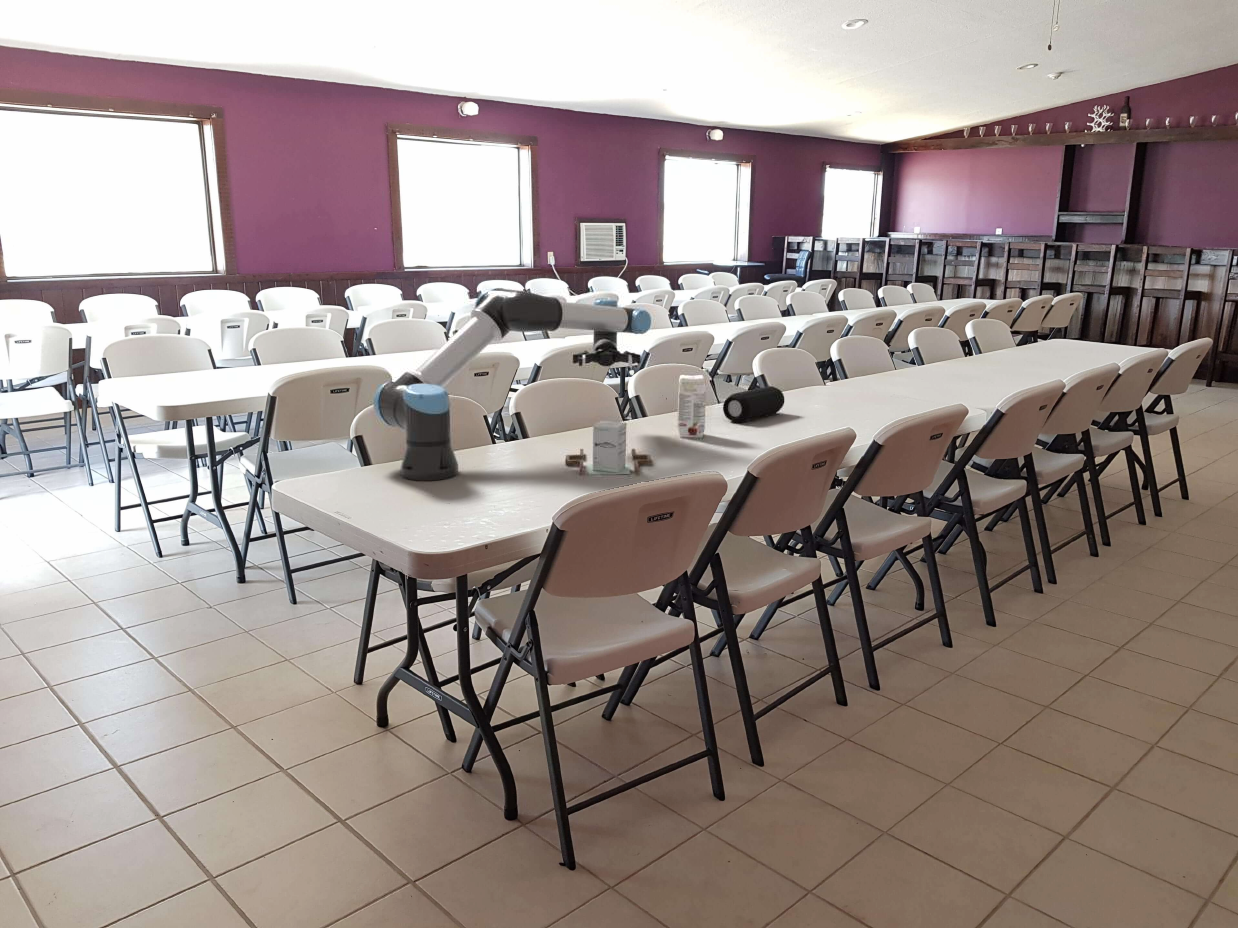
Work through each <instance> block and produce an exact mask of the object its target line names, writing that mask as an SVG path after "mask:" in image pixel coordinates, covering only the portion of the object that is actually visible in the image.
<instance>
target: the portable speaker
mask: <svg viewBox="0 0 1238 928" xmlns="http://www.w3.org/2000/svg"><path fill="white" fill-rule="evenodd" d="M784 404H785V396H784V393H783V391H782V390H781V389H779V388H777V387H775V386H772V385H771V386H770V385H768V386H763V387H758V388H753V389H749V390H745V391H744V390H743V391H740V392H734V393H731V394H730V395H728V397H727V398H726V399H725V400H724V402H723V405H722V412H723V414H724V416H725V417H726V418H727V419H728V420H729V421H731V422H734V423H738V424H739V423H744V422H748V421H752V419H753V420H757V419H759V418H760V417H761V418H764V417H768V416H772V415H774V414H777V413H778V412H779V411H781V409H782V408H783V406H785V405H784ZM771 414H772V415H771ZM767 415H768V416H767ZM756 418H757V419H756ZM761 418H760V419H761Z"/></svg>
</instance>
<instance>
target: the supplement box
mask: <svg viewBox="0 0 1238 928" xmlns="http://www.w3.org/2000/svg"><path fill="white" fill-rule="evenodd" d="M627 424H628V423H627V422H622V421H609V420H601V421H598V422H597V423H594V424H593V425H592V426H593V427H592V428H593V429H592V464H593V470H599V471H608V472H616V473H618V472H619V471H620V470H622V469H623V468H624V467H625V465H626V464H627V463H626V462H627V461H626V459H627V458H626V457H627V453H626V452H627V426H628V425H627Z"/></svg>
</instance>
